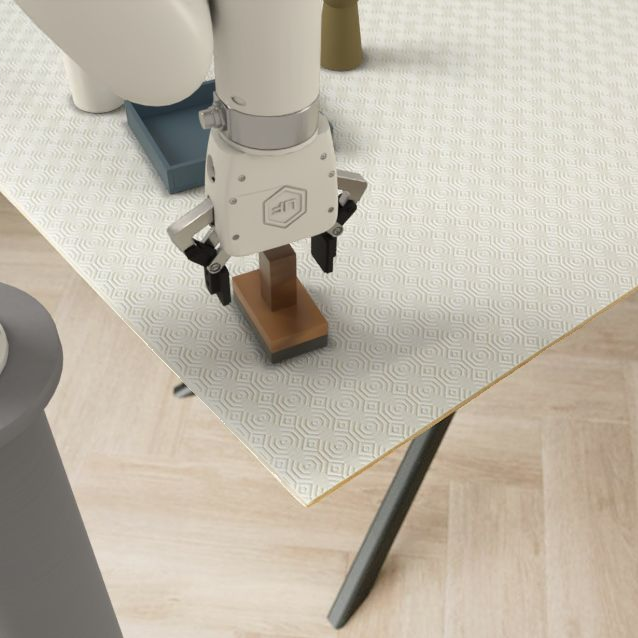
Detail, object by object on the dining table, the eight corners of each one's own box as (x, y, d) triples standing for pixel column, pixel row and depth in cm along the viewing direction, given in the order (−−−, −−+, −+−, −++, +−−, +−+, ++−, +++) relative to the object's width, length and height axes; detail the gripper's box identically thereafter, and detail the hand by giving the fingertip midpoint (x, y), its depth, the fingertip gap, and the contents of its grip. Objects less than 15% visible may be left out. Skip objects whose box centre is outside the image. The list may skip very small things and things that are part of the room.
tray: (170, 194, 96) (166, 170, 94) (127, 124, 104) (123, 100, 102) (332, 149, 102) (333, 126, 100) (280, 86, 111) (280, 63, 108)
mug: (138, 105, 107) (123, 8, 98) (83, 121, 104) (62, 23, 96) (106, 65, 113) (88, -30, 104) (53, 79, 110) (31, -17, 101)
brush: (272, 365, 80) (268, 292, 74) (233, 300, 86) (227, 226, 79) (327, 345, 82) (329, 272, 76) (286, 283, 88) (284, 209, 81)
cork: (369, 66, 114) (374, -19, 106) (324, 74, 113) (325, -12, 105) (353, 42, 118) (356, -41, 110) (308, 49, 117) (308, -35, 108)
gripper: (174, 166, 62) (194, 337, 75) (395, 110, 68) (379, 278, 81) (139, 109, 67) (163, 280, 79) (349, 61, 72) (340, 227, 85)
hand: (272, 279), depth 80 cm, fingers open, 9 cm apart
